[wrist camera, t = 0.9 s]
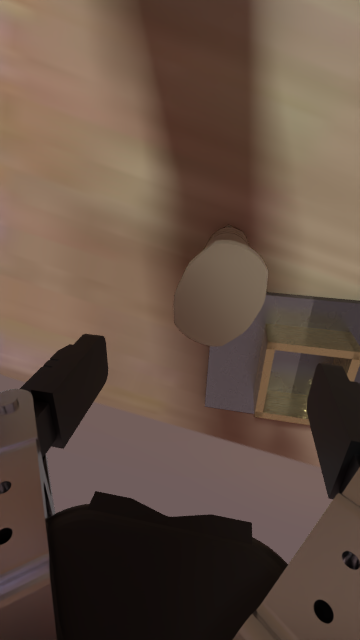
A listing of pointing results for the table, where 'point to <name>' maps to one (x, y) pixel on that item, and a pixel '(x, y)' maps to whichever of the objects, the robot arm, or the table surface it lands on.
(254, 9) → the table surface
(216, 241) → the handle
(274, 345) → the square socket base
